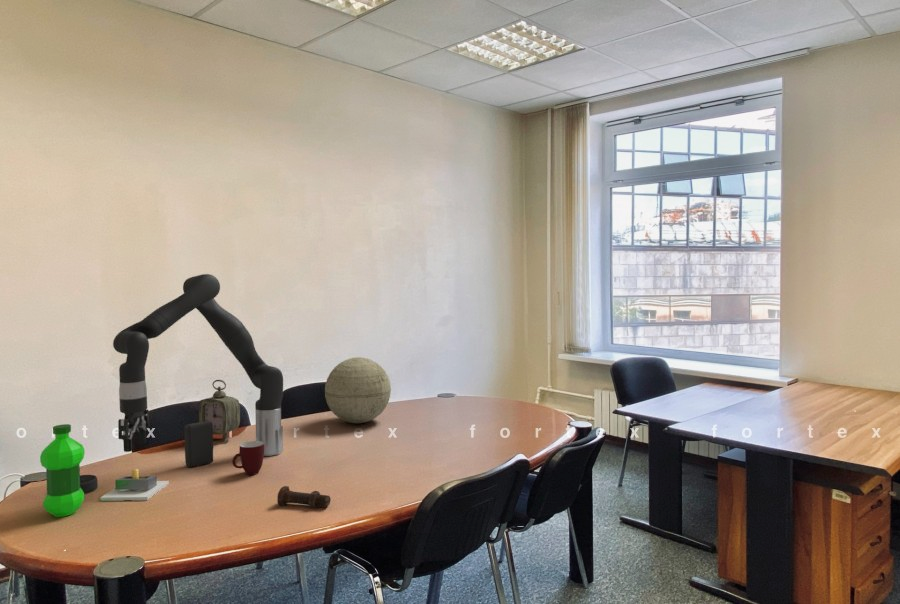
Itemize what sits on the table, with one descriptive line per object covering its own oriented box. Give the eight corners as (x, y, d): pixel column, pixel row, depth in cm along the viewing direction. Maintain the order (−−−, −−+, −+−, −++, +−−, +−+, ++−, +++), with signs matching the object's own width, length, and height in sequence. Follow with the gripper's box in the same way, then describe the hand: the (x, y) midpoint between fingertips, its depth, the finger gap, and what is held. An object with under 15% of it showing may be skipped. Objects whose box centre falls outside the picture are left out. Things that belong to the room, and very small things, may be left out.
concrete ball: (358, 412, 292) (357, 351, 290) (404, 420, 274) (404, 356, 273) (311, 424, 267) (310, 358, 266) (358, 434, 250) (357, 364, 249)
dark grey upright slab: (210, 460, 215) (209, 419, 215) (214, 462, 212) (213, 421, 212) (184, 466, 209) (183, 424, 208) (188, 468, 206) (187, 426, 205)
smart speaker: (73, 498, 179) (73, 485, 179) (58, 492, 184) (58, 480, 183) (103, 489, 186) (103, 476, 186) (88, 484, 191) (88, 472, 191)
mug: (239, 480, 194) (238, 450, 193) (228, 474, 199) (228, 445, 199) (269, 473, 201) (268, 444, 200) (258, 467, 207) (257, 439, 206)
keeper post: (168, 483, 191) (168, 462, 190) (147, 500, 177) (147, 477, 176) (125, 484, 190) (124, 463, 190) (100, 500, 176) (99, 477, 176)
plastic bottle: (39, 523, 160) (36, 432, 159) (47, 509, 170) (45, 423, 169) (81, 517, 164) (79, 428, 163) (88, 503, 174) (85, 420, 173)
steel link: (156, 485, 187) (156, 475, 187) (148, 489, 181) (148, 479, 181) (124, 485, 186) (125, 475, 187) (115, 489, 181) (115, 479, 181)
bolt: (327, 515, 170) (279, 509, 173) (333, 501, 174) (287, 495, 177) (323, 501, 167) (275, 496, 170) (330, 487, 171) (282, 482, 174)
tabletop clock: (199, 440, 241) (197, 380, 240) (215, 435, 249) (214, 376, 248) (226, 444, 236) (225, 382, 235) (242, 438, 244) (241, 379, 243)
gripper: (133, 400, 175) (135, 454, 176) (156, 390, 189) (158, 440, 190) (108, 401, 175) (110, 454, 176) (132, 391, 189) (134, 441, 190)
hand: (135, 447), depth 183 cm, fingers open, 8 cm apart
